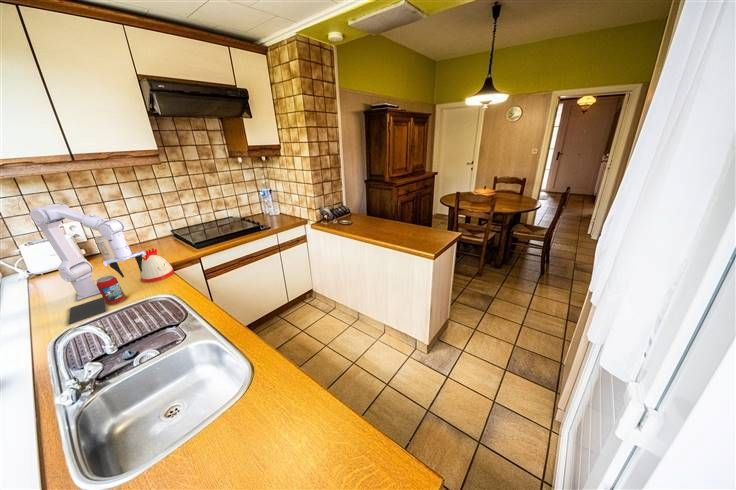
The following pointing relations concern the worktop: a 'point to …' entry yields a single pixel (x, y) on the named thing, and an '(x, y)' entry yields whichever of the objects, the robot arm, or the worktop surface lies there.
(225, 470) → the worktop surface
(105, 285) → the beverage can
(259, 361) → the worktop surface
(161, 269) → the kitchen timer
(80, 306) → the rubber mat
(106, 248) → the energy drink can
